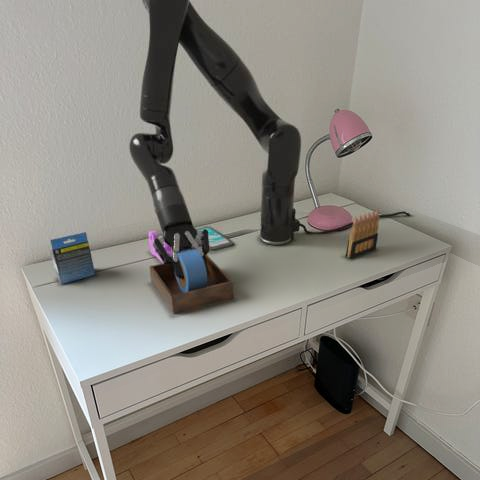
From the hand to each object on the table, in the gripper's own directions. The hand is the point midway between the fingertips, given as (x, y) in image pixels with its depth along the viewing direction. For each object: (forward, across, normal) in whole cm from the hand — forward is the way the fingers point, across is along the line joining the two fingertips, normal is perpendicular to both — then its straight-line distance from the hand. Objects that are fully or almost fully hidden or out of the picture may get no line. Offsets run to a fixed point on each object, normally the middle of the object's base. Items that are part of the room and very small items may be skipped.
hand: (193, 275), depth 109 cm
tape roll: (+2, 0, +5) cm, 5 cm away
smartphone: (-15, +16, +23) cm, 32 cm away
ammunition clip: (+4, +51, +4) cm, 51 cm away
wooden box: (+3, 0, +5) cm, 6 cm away
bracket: (-11, +1, +19) cm, 22 cm away
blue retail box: (-11, -24, +20) cm, 33 cm away
